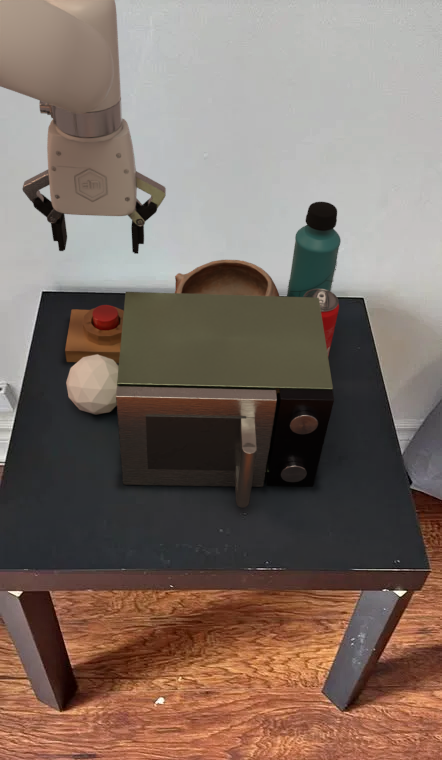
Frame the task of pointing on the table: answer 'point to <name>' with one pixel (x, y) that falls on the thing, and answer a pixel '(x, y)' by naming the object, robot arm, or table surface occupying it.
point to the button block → (92, 337)
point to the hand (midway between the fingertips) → (99, 245)
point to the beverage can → (326, 311)
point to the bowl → (226, 279)
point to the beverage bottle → (315, 251)
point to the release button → (105, 317)
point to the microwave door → (195, 436)
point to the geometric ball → (93, 384)
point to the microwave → (239, 362)
